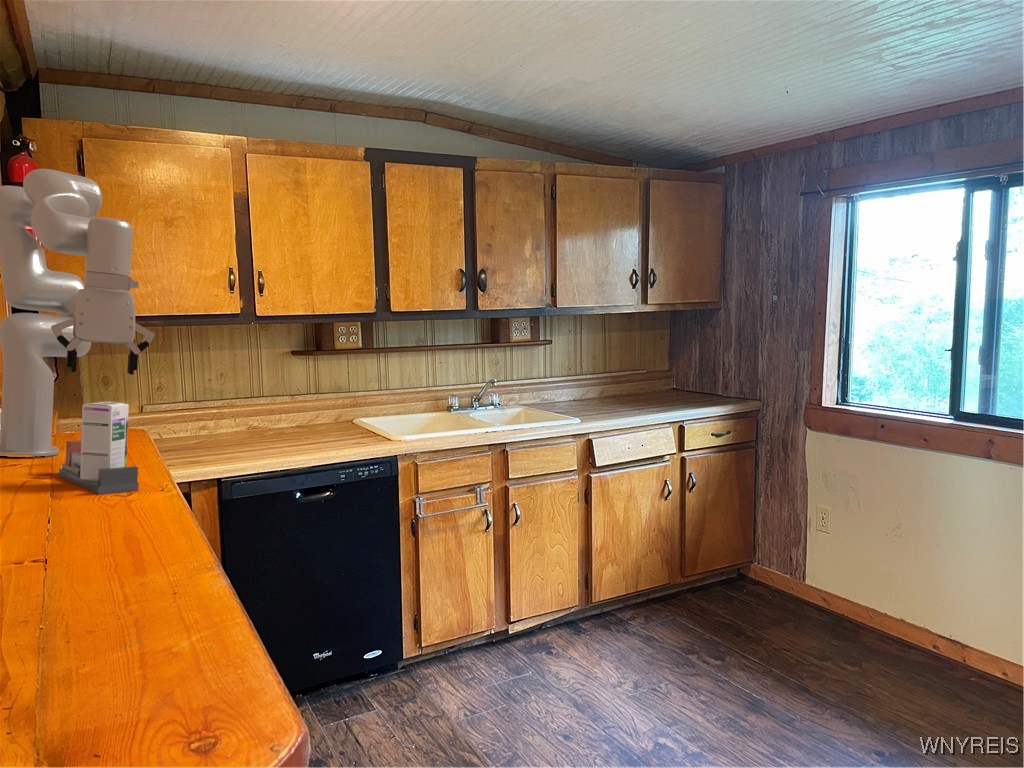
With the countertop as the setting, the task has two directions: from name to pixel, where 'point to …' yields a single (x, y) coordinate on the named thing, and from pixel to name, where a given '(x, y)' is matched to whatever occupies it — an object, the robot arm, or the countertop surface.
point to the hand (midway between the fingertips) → (102, 372)
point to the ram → (73, 453)
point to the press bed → (104, 479)
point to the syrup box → (103, 438)
